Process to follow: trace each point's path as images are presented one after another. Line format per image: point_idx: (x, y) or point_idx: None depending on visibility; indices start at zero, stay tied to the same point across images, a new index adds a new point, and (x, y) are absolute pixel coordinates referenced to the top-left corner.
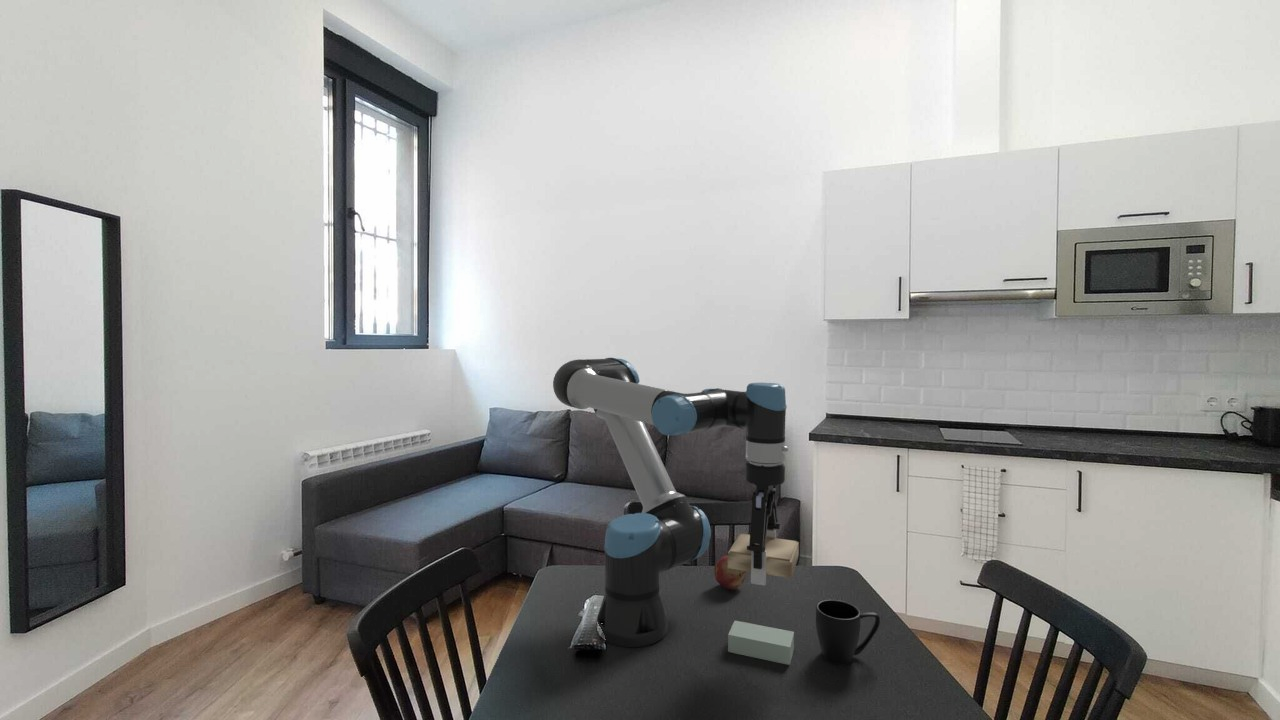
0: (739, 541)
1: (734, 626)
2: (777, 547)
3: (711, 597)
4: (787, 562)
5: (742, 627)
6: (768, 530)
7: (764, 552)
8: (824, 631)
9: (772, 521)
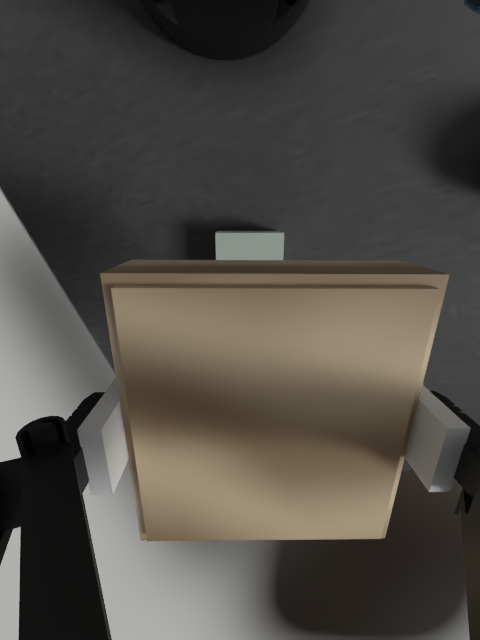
0: (290, 306)
1: (255, 238)
2: (269, 487)
3: (457, 125)
4: (141, 524)
5: (257, 257)
6: (437, 460)
7: (94, 483)
8: None
9: (468, 543)
